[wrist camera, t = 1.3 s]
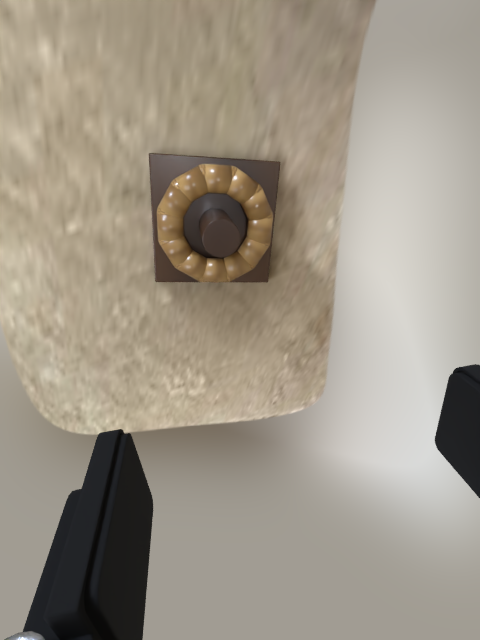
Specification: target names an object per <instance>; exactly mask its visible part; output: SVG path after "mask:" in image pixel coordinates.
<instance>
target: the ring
mask: <svg viewBox="0 0 480 640" xmlns="http://www.w3.org/2000/svg"><path fill="white" fill-rule="evenodd" d="M207 193H219V194H227V195H229V196H230V197H231V198H233V199H234V200H236V201H237V202H239V203H240V204H241V206H242V208H243V210H244V212H245V214H246V216H247V218H248V227H247V237H246V238H245V240H244V241H243V243H242V245H241V246H240V248H239V249H238V251H236V252H234V253H233V254H231V255H229V256H227V257H225V258H206V257H204V256H202V255H200V254H199V253H197V252H195V251H194V250H192V248H191V247H190V245H189V243H188V242H187V240H186V238H185V236H184V216H185V214H186V212H187V210H188V209H189V207H190V205H191V203H192V202H193V201H195V200H197V199H198V198H200V197H202V196H204V195H206V194H207ZM272 224H273V212H272V210H271V207H270V205H269V203H268V200H267V198H266V196H265V193H264V191H263V189H262V187H261V185H260V184H259V183H258V182H256V181H255V180H253V179H252V178H251V177H249V176H248V175H247V174H245V173H244V172H242V171H241V170H240V169H238V168H237V167H235V166H232V165H217V164H200V165H198V166H196V167H194V168H193V169H191V170H189V171H187V172H185V173H184V174H182V175H180V176H178V177H177V178H175V179H174V180H173V181H172V182H171V183H170V185H169V187H168V189H167V191H166V193H165V195H164V196H163V198H162V200H161V202H160V204H159V206H158V208H157V227H158V241H159V244H160V245H161V247H162V249H163V250H164V252H165V253H166V255H167V257H168V258H169V260H170V261H171V263H172V264H173V266H174V267H175V268H176V269H178V270H179V271H181V272H183V273H185V274H187V275H188V276H190V277H192V278H194V279H196V280H198V281H200V282H230V281H232V280H234V279H236V278H238V277H240V276H242V275H244V274H245V273H247V272H249V271H251V270H253V269H254V268H255V267H256V265H257V264H258V262H259V261H260V259H261V258H262V256H263V255H264V253H265V252H266V250H267V249H268V247H269V246H270V242H271V234H272Z"/></svg>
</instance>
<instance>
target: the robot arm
mask: <svg viewBox="0 0 480 640" xmlns="http://www.w3.org/2000/svg"><path fill="white" fill-rule="evenodd" d="M435 443H436V446H437V448H438V450H439V451H440V452H441V454H442V455H443V456H444V457H445V458H446V460H447V461H448V462H449V463H450V464H451V465H452V466H453V468H454V469H455V470H456V471H457V472H458V474H459V475H460V476H461V477H462V478H463V479H464V481H465V482H466V483H467V484H468V485H469V486H470V487H471V489H472V490H473V491H474V492H475V493H476V494H477V496H478V497H479V498H480V365H476V364H475V365H470V366H464V367H459V368H456V369H455V370H454V371H453V374H451V375H450V377H449V380H448V384H447V389H446V393H445V397H444V402H443V406H442V410H441V415H440V419H439V423H438V427H437V432H436V436H435ZM152 517H153V499H152V495H151V492H150V489H149V486H148V483H147V480H146V477H145V474H144V471H143V468H142V465H141V463H140V460H139V456H138V454H137V451H136V448H135V445H134V442H133V439H132V436H131V434H130V433H128V434H124V432H123V430H122V429H119V430H114V431H108V432H103V433H100V434H99V435H98V437H97V440H96V443H95V446H94V450H93V453H92V456H91V460H90V463H89V466H88V470H87V473H86V476H85V480H84V483H83V486H82V489H79V490H75V491H72V492H71V494H70V495H69V496H68V499H67V501H66V504H65V507H64V510H63V513H62V516H61V519H60V522H59V525H58V528H57V531H56V534H55V537H54V540H53V543H52V546H51V549H50V552H49V555H48V558H47V561H46V564H45V567H44V570H43V573H42V576H41V579H40V582H39V585H38V587H37V591H36V594H35V597H34V600H33V603H32V605H31V609H30V611H29V614H28V617H27V621H26V623H25V627H24V629H23V632H21V633H17V634H15V635H13V636H11V637H9V638H7V639H5V640H142V638H143V625H144V613H145V600H146V589H147V577H148V565H149V553H150V541H151V529H152Z"/></svg>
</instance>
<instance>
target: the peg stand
mask: <svg viewBox="0 0 480 640" xmlns="http://www.w3.org/2000/svg"><path fill="white" fill-rule="evenodd" d="M149 164H150V184H151V203H152V222H153V242H154V261H155V281H156V282H200V281H198V280H196V279H194V278H192V277H190V276H188V275H187V274H185V273H183V272H181V271H179V270H178V269H176V268H175V267H174V266H173V264H172V263H171V261H170V260H169V258H168V257H167V255H166V253H165V252H164V250H163V249H162V247H161V245H160V244H159V241H158V227H157V208H158V206H159V204H160V202H161V200H162V198H163V196H164V195H165V193H166V191H167V189H168V187H169V185H170V183H171V182H172V181H173V180H174V179H175V178H177V177H178V176H180V175H182V174H184V173H185V172H187V171H189V170H191V169H193V168H194V167H196V166H198V165H200V164H217V165H232V166H235V167H237V168H238V169H240V170H241V171H242V172H244V173H245V174H247V175H248V176H249V177H251V178H252V179H253V180H255V181H256V182H258V183H259V184H260V185H261V187H262V189H263V191H264V193H265V196H266V198H267V200H268V203H269V205H270V207H271V210H272V212H273V224H272V234H271V242H270V246H269V247H268V249H267V250H266V252H265V253H264V255H263V256H262V258H261V259H260V261H259V262H258V264H257V265H256V267H255V268H254V269H253V270H251V271H249V272H247V273H245V274H244V275H242V276H240V277H238V278H236V279H234V280H232V281H230V282H268V275H269V266H270V256H271V246H272V237H273V227H274V217H275V208H276V198H277V188H278V179H279V169H280V162H275V161H260V160H245V159H231V158H216V157H201V156H186V155H171V154H156V153H149ZM247 227H248V218H247V216H246V214H245V212H244V210H243V208H242V206H241V204H240V203H239V202H237V201H236V200H234V199H233V198H231V197H230V196H229V195H227V194H219V193H207V194H206V195H204V196H202V197H200V198H198V199H197V200H195V201H193V202H192V203H191V205H190V207H189V209H188V210H187V212H186V214H185V216H184V236H185V238H186V240H187V242H188V243H189V245H190V247H191V248H192V250H194V251H195V252H197V253H199V254H200V255H202V256H204V257H206V258H225V257H227V256H229V255H231V254H233V253H234V252H236V251H238V249H239V248H240V246H241V245H242V243H243V241H244V240H245V238H246V237H247Z"/></svg>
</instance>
